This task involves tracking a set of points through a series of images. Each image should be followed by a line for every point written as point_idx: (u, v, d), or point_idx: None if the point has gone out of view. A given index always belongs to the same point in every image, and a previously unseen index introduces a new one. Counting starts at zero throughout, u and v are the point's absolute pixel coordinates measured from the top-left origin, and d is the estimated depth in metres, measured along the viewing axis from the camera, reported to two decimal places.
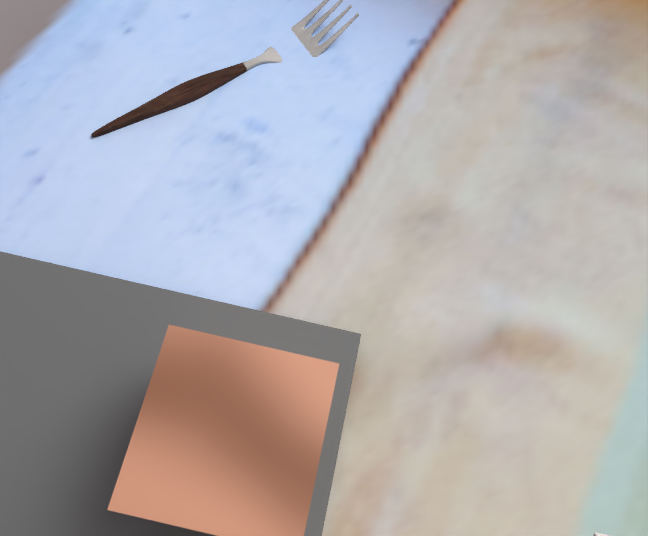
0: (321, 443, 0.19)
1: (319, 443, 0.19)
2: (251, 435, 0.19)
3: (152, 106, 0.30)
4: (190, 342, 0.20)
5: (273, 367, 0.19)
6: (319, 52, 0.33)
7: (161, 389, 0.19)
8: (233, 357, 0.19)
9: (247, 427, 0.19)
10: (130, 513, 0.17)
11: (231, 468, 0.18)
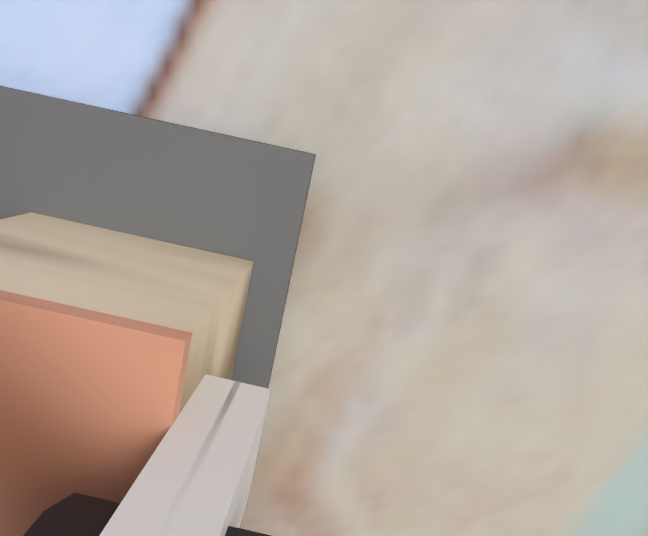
0: None
1: None
2: (29, 469, 0.10)
3: None
4: None
5: (50, 348, 0.09)
6: None
7: None
8: None
9: (20, 456, 0.10)
10: None
11: (4, 519, 0.10)
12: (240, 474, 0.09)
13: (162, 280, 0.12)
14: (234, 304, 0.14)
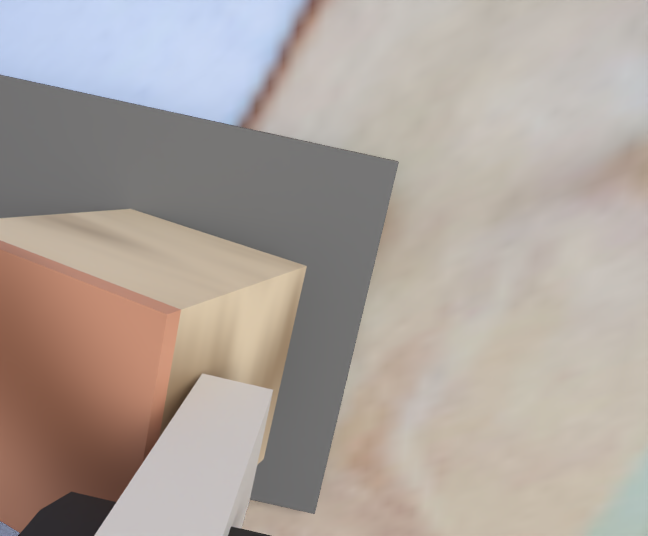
0: (143, 448, 0.11)
1: (140, 447, 0.11)
2: (50, 414, 0.11)
3: None
4: None
5: (69, 309, 0.11)
6: None
7: None
8: (16, 285, 0.11)
9: (44, 401, 0.11)
10: None
11: (31, 455, 0.12)
12: (243, 475, 0.09)
13: (196, 269, 0.13)
14: (271, 302, 0.14)
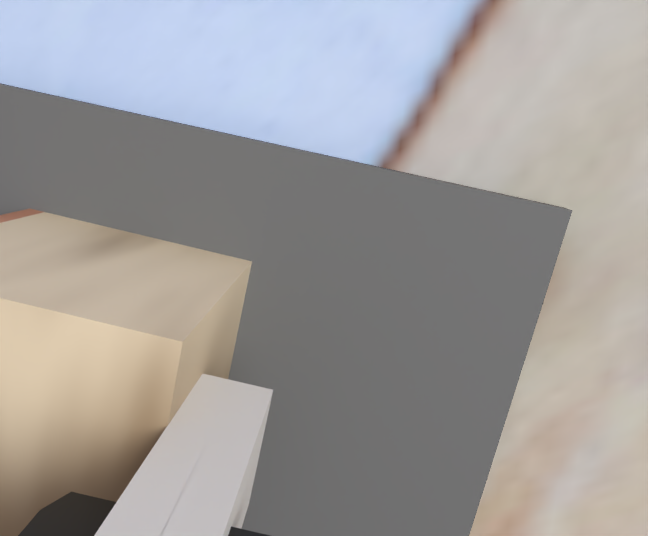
0: None
1: None
2: None
3: None
4: None
5: None
6: None
7: None
8: None
9: None
10: None
11: None
12: (243, 475, 0.09)
13: (33, 275, 0.11)
14: (71, 354, 0.09)
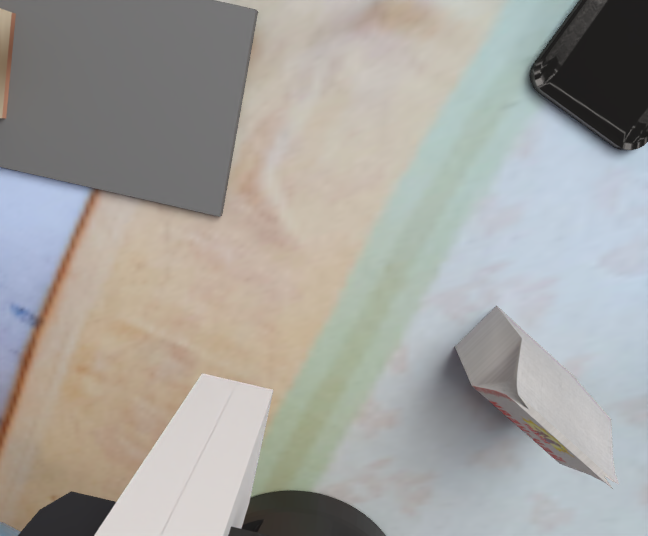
0: None
1: None
2: None
3: None
4: None
5: None
6: None
7: None
8: None
9: None
10: None
11: None
12: (243, 474, 0.09)
13: None
14: None
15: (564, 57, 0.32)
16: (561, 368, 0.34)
